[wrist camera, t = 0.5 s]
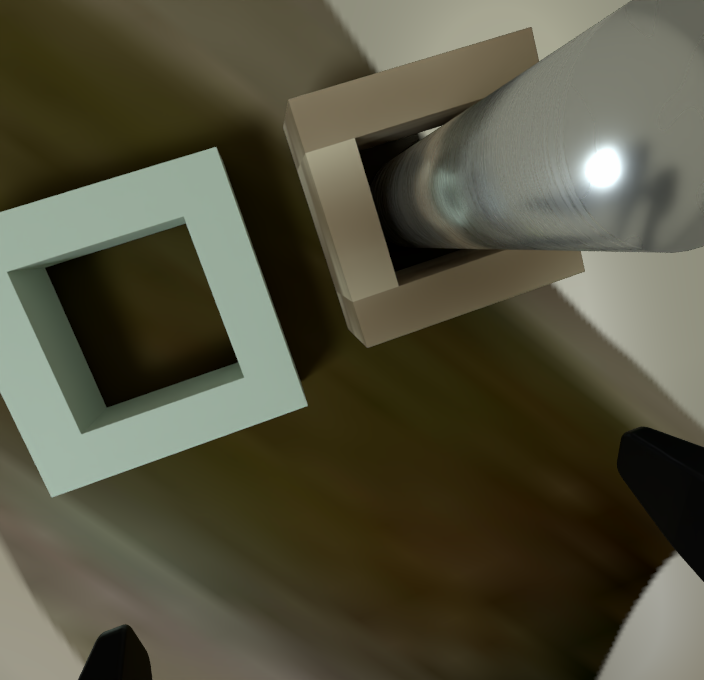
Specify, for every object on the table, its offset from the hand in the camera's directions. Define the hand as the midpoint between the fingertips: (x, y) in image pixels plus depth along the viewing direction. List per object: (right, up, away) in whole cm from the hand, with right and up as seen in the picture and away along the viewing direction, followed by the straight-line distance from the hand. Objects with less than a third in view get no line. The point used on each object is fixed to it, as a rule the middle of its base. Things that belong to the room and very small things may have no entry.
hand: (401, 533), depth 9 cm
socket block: (-8, +4, +11) cm, 15 cm away
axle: (+2, +9, +12) cm, 15 cm away
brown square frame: (+2, +9, +12) cm, 15 cm away
